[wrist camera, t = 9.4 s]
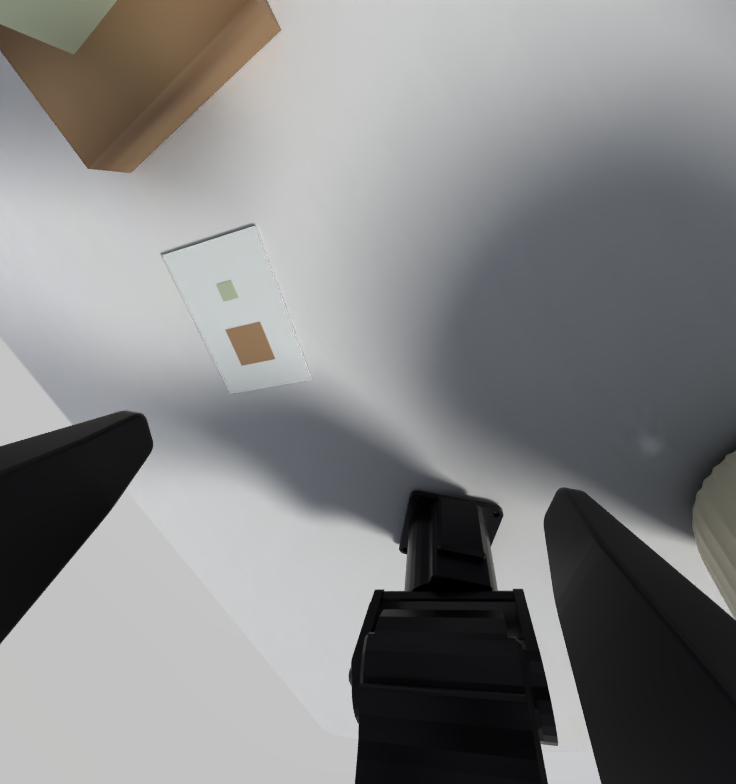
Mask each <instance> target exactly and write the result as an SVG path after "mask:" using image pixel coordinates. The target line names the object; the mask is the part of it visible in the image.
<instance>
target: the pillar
mask: <svg viewBox="0 0 736 784" xmlns="http://www.w3.org/2000/svg"><path fill="white" fill-rule="evenodd" d="M116 1H117V0H0V24H1V25H3V26H6V27H8V28H11V29H13V30H15V31H18V32H20V33H23V34H25V35H28V36H30V37H32V38H35V39H37V40H40V41H42V42H45V43H47V44H49V45H52V46H54V47H57V48H59V49H61V50H64V51H66V52H69V53H71V54H75V53H76V52H77V50H78V49H79V48H80V47H81V45H82V44H83V43H84V42H85V40H86V39H87V38H88V36H89V35H90V34H91V33H92V31H93V30H94V29H95V28H96V26H97V25H98V24H99V23H100V21H101V20H102V19H103V18H104V16H105V15H106V14H107V12H108V11H109V10H110V9H111V7H112V6H113V5H114V4H115V2H116Z"/></svg>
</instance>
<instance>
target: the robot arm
mask: <svg viewBox="0 0 736 784" xmlns="http://www.w3.org/2000/svg"><path fill="white" fill-rule="evenodd" d="M152 448H153V440H152V436H151V433H150V429H149V426H148V422H147V419H146V417H145V416H144V415H143V414H141V413H137V412H132V411H120V412H117V413H113V414H110V415H106V416H103V417H100V418H96V419H93V420H89V421H86V422H82V423H79V424H76V425H72V426H69V427H65V428H62V429H58V430H55V431H52V432H48V433H45V434H41V435H38V436H35V437H31V438H28V439H24V440H21V441H17V442H14V443H10V444H7V445H4V446H0V644H1V642H2V641H3V640H4V639H5V638H6V636H7V635H8V634H9V633H10V632H11V630H12V629H13V628H14V627H15V626H16V624H17V623H18V622H19V621H20V620H21V618H22V617H23V616H24V615H25V614H26V612H27V611H28V610H29V608H31V606H32V605H33V604H34V603H35V602H36V600H37V599H38V598H39V597H40V596H41V594H42V593H43V592H44V591H45V590H46V588H47V587H48V586H49V585H50V583H51V582H52V581H53V580H54V579H55V577H56V576H57V575H58V574H59V573H60V571H61V570H62V569H63V568H64V567H65V565H66V564H67V563H68V562H69V561H70V559H71V558H72V557H73V556H74V555H75V553H76V552H77V551H78V550H79V549H80V547H81V546H82V545H83V544H84V543H85V541H86V540H87V539H88V538H89V537H90V535H91V534H92V533H93V532H94V531H95V529H96V528H97V527H98V526H99V524H100V523H101V522H102V521H103V520H104V518H105V517H106V516H107V515H108V513H109V512H110V511H111V509H112V508H113V507H114V505H115V504H116V502H117V501H118V499H119V498H120V497H121V495H122V494H123V492H124V491H125V490H126V488H127V487H128V485H129V484H130V482H131V481H132V479H133V478H134V477H135V475H136V474H137V472H138V471H139V469H140V468H141V466H142V465H143V463H144V462H145V461H146V459H147V458H148V456H149V455H150V453H151V451H152ZM415 497H417V498H415ZM494 512H497V513H494ZM502 518H503V511H502V508H501V507H500V506H497V505H492V504H486V503H481V502H475V501H470V500H465V499H459V498H454V497H448V496H443V495H438V494H432V493H427V492H421V491H412V492H411V493H410V496H409V501H408V505H407V510H406V515H405V520H404V525H403V530H402V535H401V540H400V546H399V550H400V552H402V553H404V554H407V564H406V578H405V591H384V590H375V591H374V594H373V597H372V600H371V602H370V604H369V607H368V610H367V614H366V617H365V620H364V623H363V626H362V629H361V632H360V635H359V638H358V641H357V645H356V648H355V651H354V654H353V657H352V662H351V668H350V671H349V682H350V684H351V686H352V701H353V709H354V714H355V717H356V720H357V722H358V723H359V739H358V754H357V766H356V778H355V784H548V782H547V777H546V771H545V766H544V760H543V755H542V749H541V744H545V745H554V746H558V739H557V732H556V726H555V720H554V714H553V709H552V704H551V699H550V694H549V690H548V685H547V681H546V676H545V672H544V667H543V663H542V659H541V655H540V651H539V648H538V644H537V640H536V636H535V633H534V629H533V625H532V622H531V618H530V614H529V610H528V607H527V603H526V599H525V595H524V592H523V589H513V591H498V589H497V583H496V577H495V571H494V565H493V559H492V553H491V545H492V542H493V540H494V537H495V535H496V532H497V530H498V527H499V525H500V523H501V520H502ZM544 531H545V538H546V545H547V552H548V559H549V565H550V572H551V579H552V586H553V592H554V598H555V604H556V608H557V612H558V617H559V621H560V624H561V628H562V632H563V636H564V640H565V644H566V648H567V652H568V656H569V659H570V663H571V667H572V671H573V675H574V679H575V683H576V687H577V691H578V694H579V698H580V702H581V706H582V710H583V714H584V718H585V722H586V726H587V729H588V733H589V737H590V741H591V745H592V749H593V753H594V756H595V760H596V764H597V768H598V772H599V776H600V780H601V784H736V620H735V619H734V618H732V617H731V616H730V615H729V614H728V613H726V612H725V611H724V610H723V609H722V608H721V607H719V606H718V605H717V604H716V603H715V602H714V601H712V600H711V599H710V598H709V597H708V596H706V595H705V594H704V593H703V592H702V591H701V590H699V589H698V588H697V587H696V586H695V585H693V584H692V583H691V582H690V581H689V580H688V579H686V578H685V577H684V576H683V575H682V574H681V573H679V572H678V571H677V570H676V569H675V568H673V567H672V566H671V565H670V564H669V563H668V562H666V561H665V560H664V559H663V558H662V557H660V556H659V555H658V554H657V553H656V552H655V551H653V550H652V549H651V548H650V547H649V546H648V545H646V544H645V543H644V542H643V541H642V540H640V539H639V538H638V537H637V536H636V535H635V534H633V533H632V532H631V531H630V530H629V529H628V528H626V527H625V526H624V525H623V524H622V523H620V522H619V521H618V520H617V519H616V518H615V517H613V516H612V515H611V514H610V513H609V512H607V511H606V510H605V509H604V508H603V507H602V506H600V505H599V504H598V503H597V502H596V501H595V500H593V499H592V498H591V497H590V496H589V495H587V494H586V493H585V492H583V491H581V490H576V489H570V488H560V489H559V490H558V491H557V492H556V494H555V496H554V498H553V500H552V502H551V504H550V506H549V508H548V510H547V512H546V514H545V517H544Z"/></svg>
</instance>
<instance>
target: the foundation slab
mask: <svg viewBox="0 0 736 784" xmlns="http://www.w3.org/2000/svg"><path fill="white" fill-rule="evenodd" d="M280 30H281V29H280V27H279V25H278V23H277V20H276V18H275V16H274V14H273V12H272V10H271V8H270V6H269V4H268V2H267V0H117V1H116V2H115V4H114V5H113V6H112V7H111V9H110V10H109V11H108V12H107V14H106V15H105V16H104V18H103V19H102V20H101V21H100V23H99V24H98V25H97V26H96V28H95V29H94V30H93V31H92V33H91V34H90V35H89V36H88V38H87V39H86V40H85V42H84V43H83V44H82V45H81V47H80V48H79V49H78V50H77V52H76V53H75V54H71V53H69V52H66V51H64V50H61V49H59V48H57V47H54V46H52V45H49V44H47V43H45V42H42V41H40V40H37V39H35V38H32V37H30V36H28V35H25V34H23V33H20V32H18V31H15V30H13V29H11V28H8V27H6V26H3V25H1V24H0V50H1V52H2V53H3V55H4V56H5V57H6V59H7V60H8V61H9V63H10V64H11V65H12V67H13V68H14V69H15V71H16V72H17V73H18V75H19V76H20V78H21V79H22V80H23V82H24V83H25V84H26V86H27V87H28V88H29V90H30V91H31V92H32V94H33V95H34V96H35V98H36V99H37V100H38V102H39V103H40V105H41V106H42V107H43V109H44V110H45V111H46V113H47V114H48V115H49V117H50V118H51V119H52V121H53V122H54V123H55V125H56V126H57V128H58V129H59V130H60V132H61V133H62V134H63V136H64V137H65V138H66V140H67V141H68V142H69V144H70V145H71V146H72V148H73V149H74V151H75V152H76V153H77V155H78V156H79V157H80V159H81V160H82V161H83V163H84V164H85V165H86V167H87V168H88V169H96V170H107V171H117V172H127V173H131V172H132V171H133V170H134V169H135V168H136V167H137V166H138V165H139V164H140V163H141V162H142V161H143V160H144V159H145V158H146V157H147V156H149V155H150V154H151V153H152V152H153V151H154V150H155V149H156V148H157V147H158V146H159V145H160V144H161V143H162V142H163V141H164V140H165V139H166V138H167V137H169V136H170V135H171V134H172V133H173V132H174V131H175V130H176V129H177V128H178V127H179V126H180V125H181V124H182V123H183V122H184V121H185V120H186V119H188V118H189V117H190V116H191V115H192V114H193V113H194V112H195V111H196V110H197V109H198V108H199V107H200V106H201V105H202V104H203V103H204V102H205V101H206V100H208V99H209V98H210V97H211V96H212V95H213V94H214V93H215V92H216V91H217V90H218V89H219V88H220V87H221V86H222V85H223V84H224V83H225V82H226V81H228V80H229V79H230V78H231V77H232V76H233V75H234V74H235V73H236V72H237V71H238V70H239V69H240V68H241V67H242V66H243V65H244V64H245V63H247V62H248V61H249V60H250V59H251V58H252V57H253V56H254V55H255V54H256V53H257V52H258V51H259V50H260V49H261V48H262V47H263V46H264V45H265V44H267V43H268V42H269V41H270V40H271V39H272V38H273V37H274V36H275V35H276V34H277V33H278V32H279V31H280Z"/></svg>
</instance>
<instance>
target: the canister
mask: <svg viewBox="0 0 736 784" xmlns="http://www.w3.org/2000/svg"><path fill="white" fill-rule="evenodd" d="M692 514H693V521H692V527H693V533H694V536H695V539H696V544H697V547H698V550H699V553H700V555H701V558H702V560H703V562H704V564H705V566H706V568H707V569H708V571H709V573H710V575H711V577H712V579H713V580H714V582H715V584H716V586H717V588H718V589H719V591H720V593H721V595H722V597H723V598H724V600H725V602H726V604H727V606H728V607H729V609H730V611H731V613H732V615H733V616H734V618H735V620H736V451H734V452H732V453H730V454H727V455H726V457H725V459H724V460H723V461H722V462H721V463H720V464H719V465H716V466H715V467H713V470H712V473H711V475H710V476H708V477H707V478H705V479H704V481H703V485H702V488H701V489H700V490H699V491H698V492H697V494H696V502H695V503H694V506H693V510H692Z"/></svg>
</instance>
